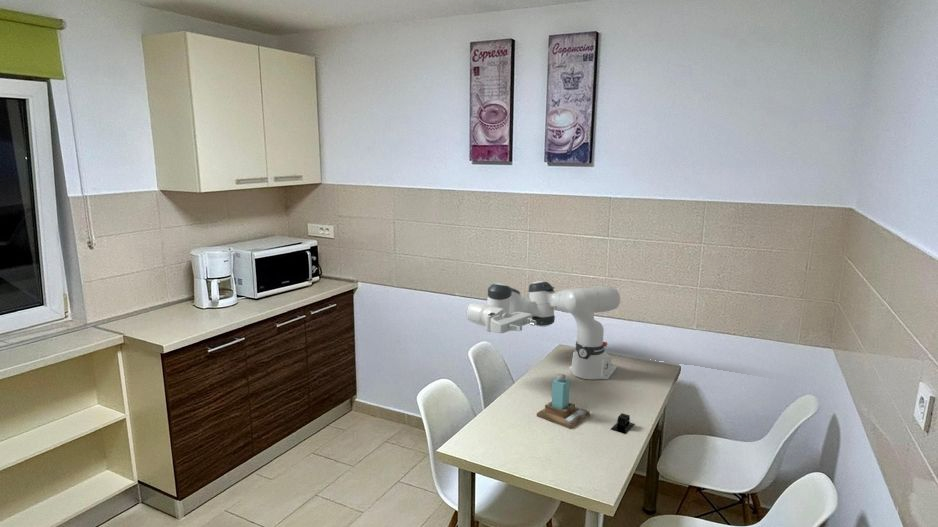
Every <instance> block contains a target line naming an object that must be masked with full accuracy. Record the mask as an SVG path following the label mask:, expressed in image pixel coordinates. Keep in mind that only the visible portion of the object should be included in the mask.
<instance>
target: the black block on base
mask: <svg viewBox="0 0 938 527" xmlns="http://www.w3.org/2000/svg"><path fill="white" fill-rule="evenodd" d="M630 419H631V417H630V415H629V414H626V413H623V412H622V413H620V414H619V415H618V416H617V421H616V424H614V425H613V426H612V427H611V428H610V431H613V432H616V433H620V434H623V435H627V434H628V432H629V431H630V430H631V429H632V428H633V427H634V426H635V425H636V424H635V423H633V422H630Z"/></svg>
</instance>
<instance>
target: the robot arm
mask: <svg viewBox="0 0 938 527" xmlns="http://www.w3.org/2000/svg"><path fill="white" fill-rule="evenodd" d="M528 286H529V287H528V292H529V295H528V296H529V298H528V297H525V296H523V295H521V293H520V291H519V290H517V289H515V288H513V287H510V286H509V285H507V284H505V283H500V282H497V283H492V284H490V286H488V288H487V300H486V301H487V302H486V303H481V302H480V303H479V302H471V303H470V304H469V305H467V309H466V319H467V320H468V321H470V322H471V323H473V324H476V325H479V326H482V327H485V331H486V332H489V333H491V332H492V333H497V334H505V333H508V332H511V331H512V332H513V331H514V332H515V331H516V332H521V331H522V330H523V326H526V325H530V326H533V327H534V326H537V327H542V328H545V327H549V326H551V325H553V323H555V320H556V316H555V310H557V311H559V312H562V313H569V314H571V315H572V317H573V318H574V320H575V322H576V323H575V324H576V329H577V331H576V333H577V334H576V341H575V351H573V352H572V360H571V365H569V367H568V369H569V370H570V371H571V373H572V375H573V376H575V377H577V378H579V379H583V380H584V379H585V380H593V381H594V380H608V379H610V378H611V376H612V375H613V374H614V373H615V371H616V370H617V366H616V365H614V364H612V356H611V355H610V354H609V353H608V352H607V351H606V350H605V349H606V347H607V346H608V342H606V341H604V330H605V329H604V326H603V324H602V323H601V322H600V321H598V320H596V319H595V318H594V314H595V313H605V312H606V313H607V312H610V311H613V310H615V309H617V308H618V307H619V305H620V304H621V295H620V293H619V290H617V289H616V288H615V287H612V286H606V285H605V286H604V285H602V286H601V285H600V286H590V287H580V288H579V287H578V288H577V287H576V288H565V289H562V290H559V291H555V287H554V286H552V285H551V284H550V282H547V281H545V280H536V281H534V282H531V283H530V284H529V285H528Z"/></svg>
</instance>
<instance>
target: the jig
mask: <svg viewBox="0 0 938 527" xmlns="http://www.w3.org/2000/svg"><path fill="white" fill-rule="evenodd" d="M590 413H591V411H589V410H587V408H586V409H585V408H583V407H581V408H579V407H576V404H574V403H571V402H569V407H567V408H566V409H564V410H561V409H558V408H555V407H552V400H551V401H550V402H548V403H547V404H545V405H544V408H542V409H541V410H540V411H538V412H537V413H536V417H538V418H541V419H543V420H546V421H548V422H551V423H554V424H557V425H559V426H561V427H564V428H567V429H569V430H570V429H572V428H573V427H575V426H576V425H578V424H579V423H581V422H582V421H584V420H585V419H586V418H588V417H589V416H590V415H591V414H590Z"/></svg>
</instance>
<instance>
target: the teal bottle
mask: <svg viewBox="0 0 938 527" xmlns="http://www.w3.org/2000/svg"><path fill="white" fill-rule="evenodd" d="M556 376H557V377H556V379H555V378H554V379H553V380H552V384H551V385H552V388H551V401H552V407H555V408H558V409H561V410H564V409H566V408H567V407H569V403H570V384H571V381H570V380H569V379H566V378H567V377H566V374H563V373H558V374H557V375H556Z"/></svg>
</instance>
